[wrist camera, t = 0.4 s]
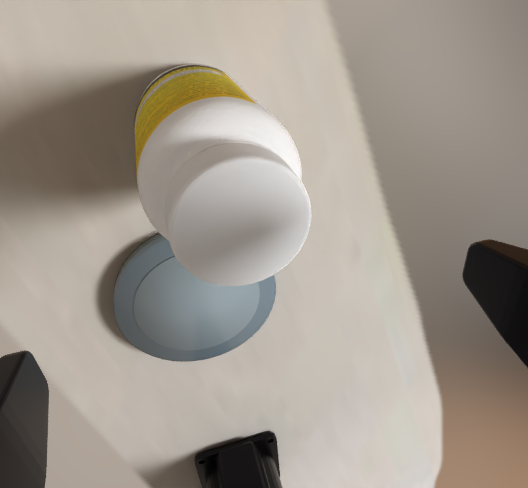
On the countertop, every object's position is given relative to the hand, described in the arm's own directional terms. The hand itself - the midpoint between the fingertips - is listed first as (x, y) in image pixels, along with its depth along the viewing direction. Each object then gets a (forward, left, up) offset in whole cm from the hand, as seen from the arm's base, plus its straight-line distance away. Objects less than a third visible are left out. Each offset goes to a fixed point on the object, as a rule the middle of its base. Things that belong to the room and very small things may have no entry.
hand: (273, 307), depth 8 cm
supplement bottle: (0, 0, -13) cm, 13 cm away
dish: (-9, +1, -13) cm, 16 cm away
